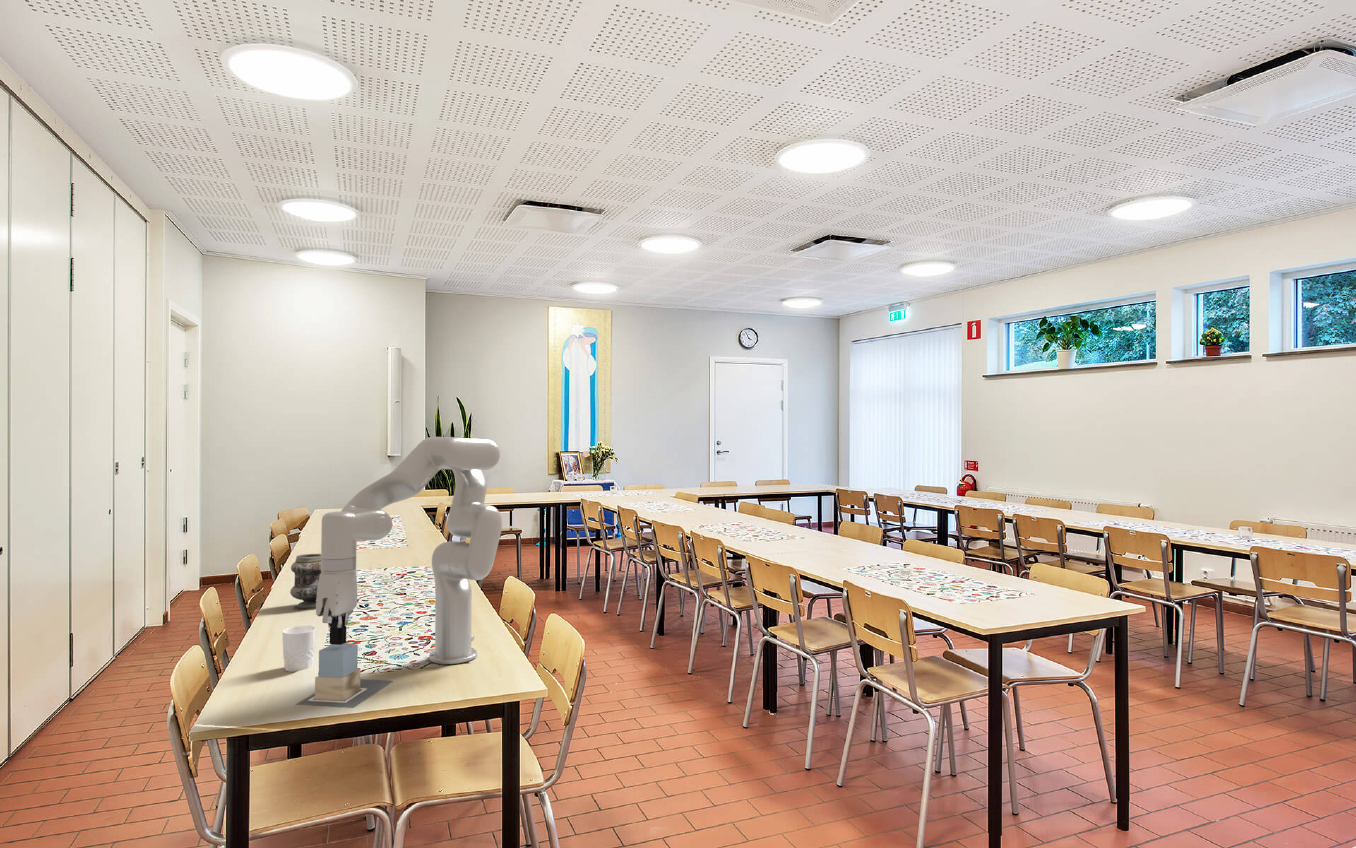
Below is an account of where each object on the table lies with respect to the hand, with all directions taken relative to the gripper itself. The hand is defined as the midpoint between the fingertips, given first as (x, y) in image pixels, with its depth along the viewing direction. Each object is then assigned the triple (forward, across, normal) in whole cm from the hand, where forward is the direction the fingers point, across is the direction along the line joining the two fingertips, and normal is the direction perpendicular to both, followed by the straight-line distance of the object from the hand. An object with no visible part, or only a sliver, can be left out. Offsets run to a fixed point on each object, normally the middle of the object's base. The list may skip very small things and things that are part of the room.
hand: (337, 643), depth 176 cm
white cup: (+13, -18, -22) cm, 31 cm away
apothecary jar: (+12, -80, -60) cm, 101 cm away
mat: (+12, -2, +1) cm, 13 cm away
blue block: (+7, 0, 0) cm, 7 cm away
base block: (+12, 0, 0) cm, 12 cm away
